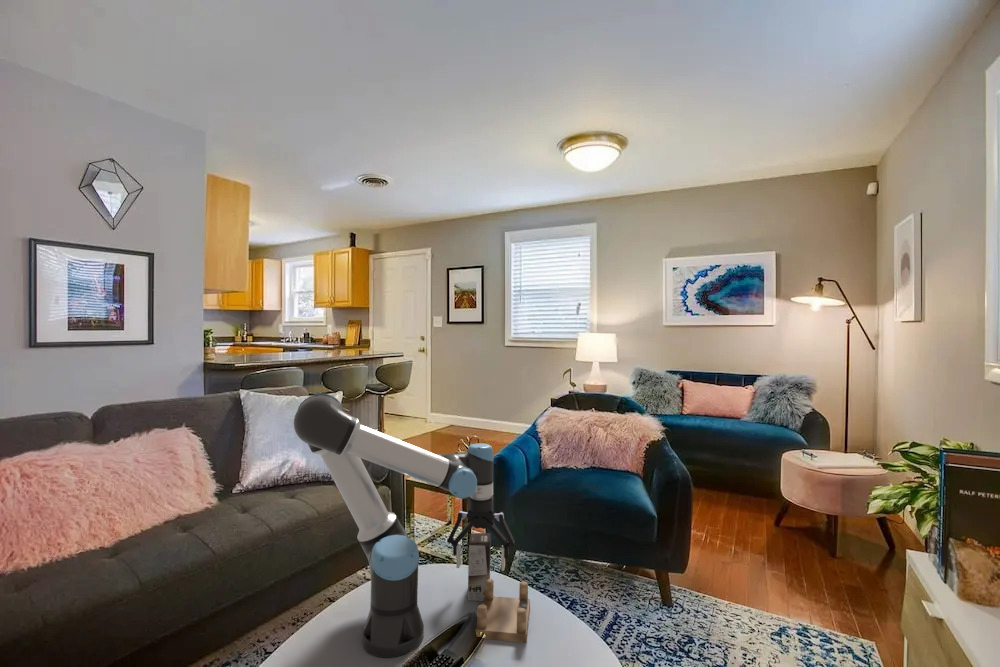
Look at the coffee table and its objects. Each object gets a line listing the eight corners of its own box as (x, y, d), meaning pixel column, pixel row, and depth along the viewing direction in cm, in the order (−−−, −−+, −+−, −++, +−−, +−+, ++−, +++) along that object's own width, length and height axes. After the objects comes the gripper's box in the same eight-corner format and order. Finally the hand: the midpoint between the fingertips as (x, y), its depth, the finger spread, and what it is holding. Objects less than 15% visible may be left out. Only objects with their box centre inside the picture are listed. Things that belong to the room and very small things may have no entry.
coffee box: (489, 601, 134) (490, 545, 134) (467, 601, 134) (468, 544, 134) (490, 585, 143) (491, 532, 143) (469, 584, 143) (470, 532, 143)
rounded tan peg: (527, 607, 126) (528, 591, 126) (519, 607, 127) (519, 590, 127) (527, 597, 131) (528, 581, 131) (519, 597, 132) (519, 581, 132)
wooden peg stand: (475, 637, 117) (475, 609, 117) (484, 602, 133) (485, 578, 133) (526, 642, 116) (526, 614, 116) (529, 606, 131) (530, 581, 132)
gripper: (437, 498, 137) (437, 570, 136) (521, 502, 134) (521, 576, 133) (443, 490, 144) (443, 558, 144) (523, 493, 141) (523, 563, 141)
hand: (480, 567), depth 138 cm, fingers open, 13 cm apart
